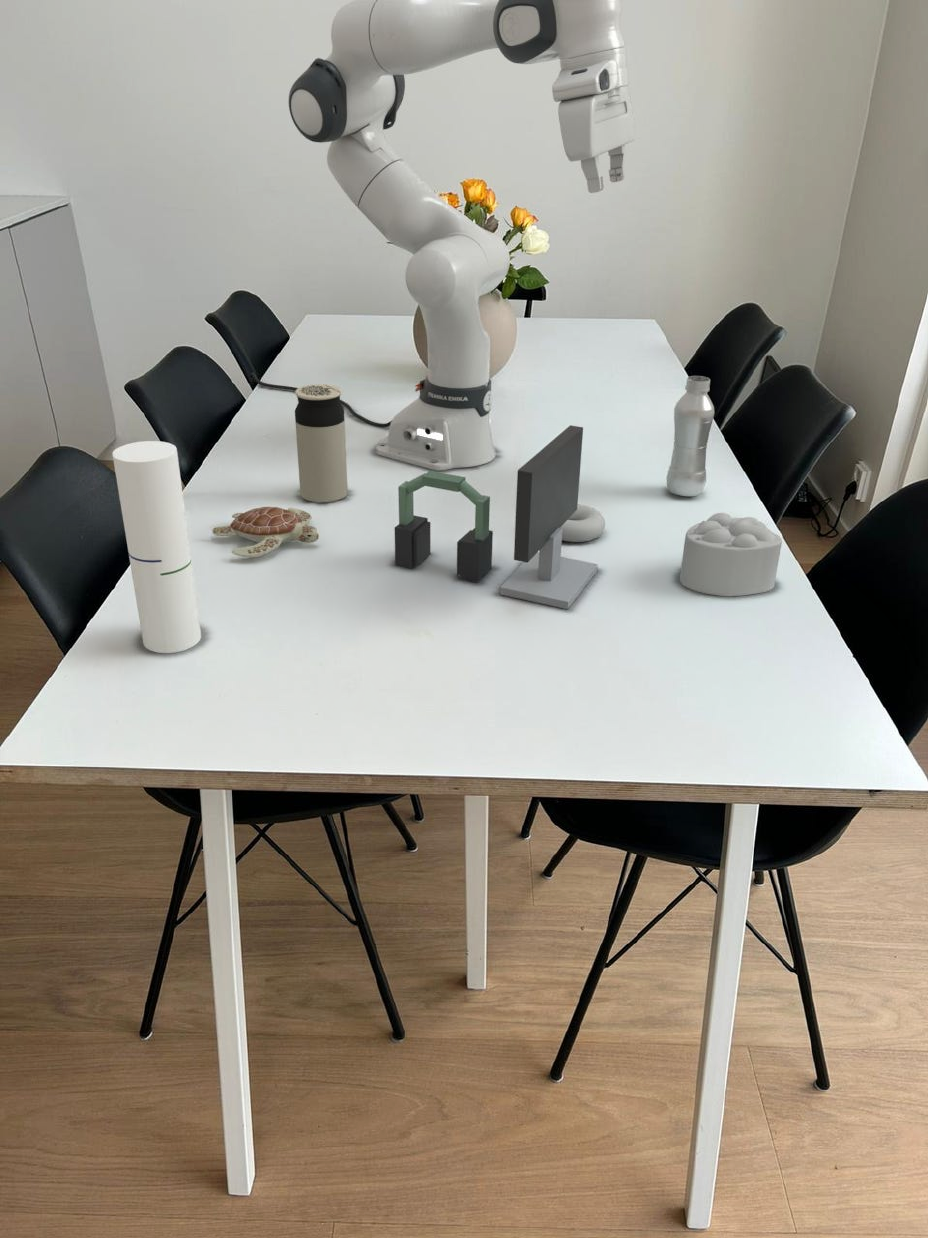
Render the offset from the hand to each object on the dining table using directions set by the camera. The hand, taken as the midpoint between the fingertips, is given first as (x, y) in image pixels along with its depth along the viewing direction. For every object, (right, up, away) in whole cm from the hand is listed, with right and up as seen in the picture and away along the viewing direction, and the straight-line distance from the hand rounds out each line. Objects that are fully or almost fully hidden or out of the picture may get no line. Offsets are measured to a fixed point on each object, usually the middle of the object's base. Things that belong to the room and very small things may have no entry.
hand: (607, 186), depth 144 cm
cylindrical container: (-57, -64, -15) cm, 88 cm away
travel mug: (-44, -41, +28) cm, 66 cm away
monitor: (-9, -56, 0) cm, 57 cm away
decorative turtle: (-50, -49, +12) cm, 71 cm away
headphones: (-23, -54, +4) cm, 59 cm away
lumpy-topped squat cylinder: (+17, -56, +2) cm, 59 cm away
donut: (-3, -48, +15) cm, 51 cm away
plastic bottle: (+18, -40, +30) cm, 53 cm away
